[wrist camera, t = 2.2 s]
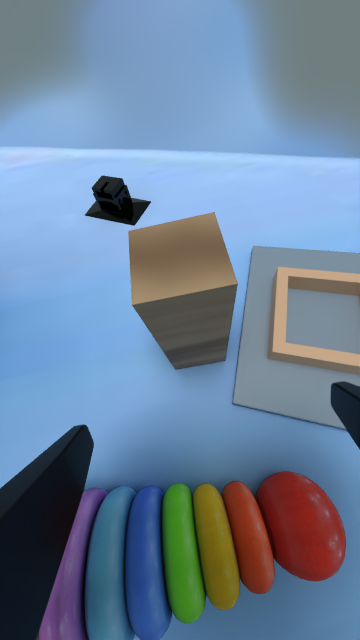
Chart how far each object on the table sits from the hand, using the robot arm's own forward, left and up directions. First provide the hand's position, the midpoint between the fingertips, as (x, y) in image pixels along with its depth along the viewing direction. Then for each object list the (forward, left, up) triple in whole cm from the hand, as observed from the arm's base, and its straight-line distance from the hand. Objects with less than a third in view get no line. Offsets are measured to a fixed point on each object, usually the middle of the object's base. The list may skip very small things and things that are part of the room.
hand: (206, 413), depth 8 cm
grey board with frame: (-4, -13, -13) cm, 19 cm away
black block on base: (+28, -17, -14) cm, 36 cm away
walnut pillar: (+5, -5, -13) cm, 15 cm away
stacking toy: (+4, +13, -9) cm, 16 cm away
